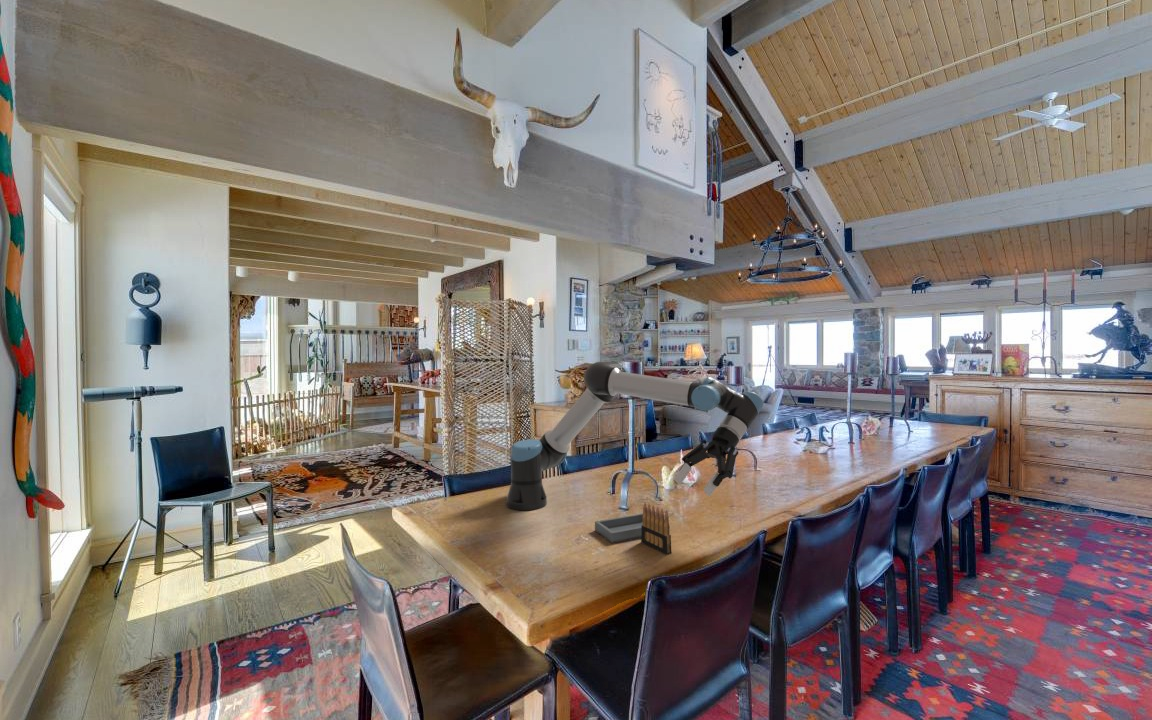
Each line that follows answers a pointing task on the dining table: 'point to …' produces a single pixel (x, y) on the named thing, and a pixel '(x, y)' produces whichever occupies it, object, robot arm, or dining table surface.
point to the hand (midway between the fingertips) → (690, 487)
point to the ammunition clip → (656, 529)
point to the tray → (620, 528)
